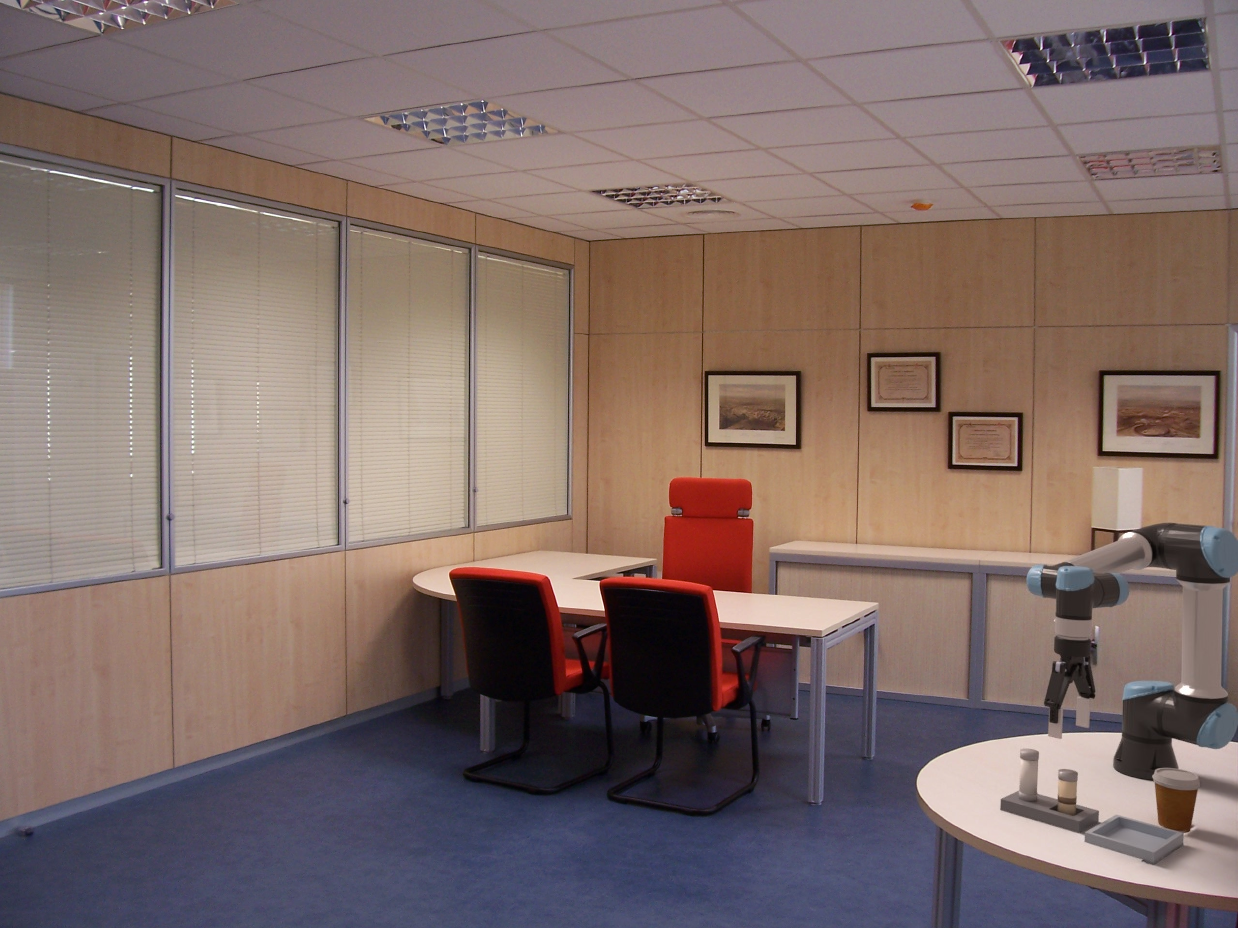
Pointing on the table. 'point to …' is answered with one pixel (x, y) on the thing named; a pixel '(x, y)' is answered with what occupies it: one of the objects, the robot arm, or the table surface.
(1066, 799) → the fuse
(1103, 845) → the parts tray
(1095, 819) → the grey slotted block
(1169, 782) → the disposable coffee cup
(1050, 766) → the table surface
